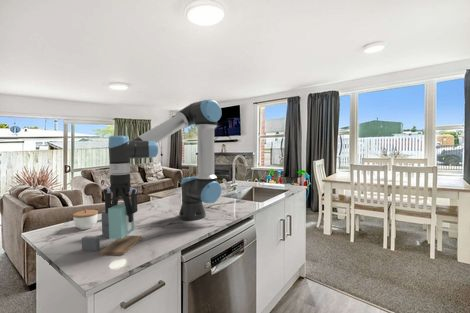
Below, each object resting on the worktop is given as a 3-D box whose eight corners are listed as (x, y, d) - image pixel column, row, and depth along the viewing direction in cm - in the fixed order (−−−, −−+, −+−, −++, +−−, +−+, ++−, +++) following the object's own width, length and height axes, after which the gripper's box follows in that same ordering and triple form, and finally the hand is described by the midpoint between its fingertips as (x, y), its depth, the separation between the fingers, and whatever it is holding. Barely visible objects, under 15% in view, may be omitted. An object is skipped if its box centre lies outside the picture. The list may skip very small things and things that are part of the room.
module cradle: (124, 234, 111) (123, 211, 111) (101, 250, 94) (100, 223, 94) (104, 234, 112) (103, 211, 111) (77, 250, 95) (75, 223, 94)
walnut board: (142, 238, 106) (142, 235, 106) (122, 254, 90) (122, 251, 90) (122, 238, 107) (122, 235, 107) (100, 254, 91) (100, 251, 91)
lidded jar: (87, 223, 128) (86, 206, 128) (103, 225, 125) (102, 207, 125) (68, 230, 118) (67, 211, 118) (85, 232, 115) (84, 213, 115)
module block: (134, 229, 103) (133, 202, 103) (121, 238, 93) (120, 208, 93) (123, 229, 104) (122, 202, 103) (109, 238, 94) (108, 208, 93)
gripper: (92, 175, 94) (95, 232, 95) (137, 174, 93) (139, 233, 94) (104, 172, 102) (106, 226, 103) (145, 172, 100) (147, 226, 101)
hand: (122, 229), depth 98 cm, fingers closed on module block, 5 cm apart
